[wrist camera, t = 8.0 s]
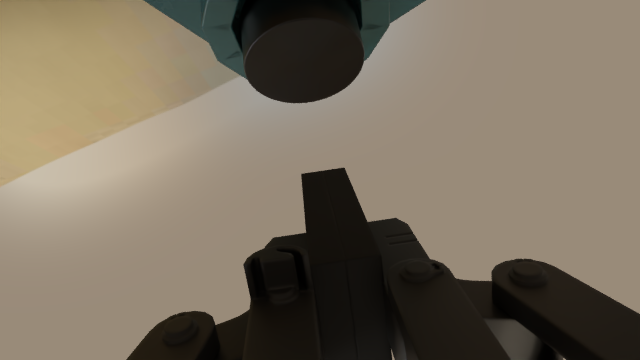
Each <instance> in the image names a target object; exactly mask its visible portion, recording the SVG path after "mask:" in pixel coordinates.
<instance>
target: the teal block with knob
mask: <svg viewBox="0 0 640 360" xmlns="http://www.w3.org/2000/svg"><path fill="white" fill-rule="evenodd" d="M144 1H145V2H147V3H148V4H150V5H151V6H153V7H155V8H156V9H158V10H159V11H161V12H162V13H164V14H165V15H167V16H168V17H170V18H171V19H173V20H175V21H176V22H178V23H179V24H181V25H182V26H184V27H185V28H187V29H188V30H190V31H191V32H193V33H194V34H196V35H198V36H199V37H201V38H202V39H204V40H205V41H207V42H208V43H209V44H210V46H211V48H212V50H213V52H214V54H215V56H216V58H217V60H218V61H219V62H220V63H222V64H223V65H225V66H226V67H228V68H230V69H231V70H233V71H234V72H236V73H238V74H239V75H241V76H242V77H244V78H246V79H247V77H246V75H245V72H244V63H243V51H242V39H241V26H240V15H241V10H242V7H243V5H244V3H245V1H246V0H144ZM424 1H426V0H352V2H353V6H354V10H355V14H356V18H357V22H358V26H359V30H360V34H361V38H362V42H363V46H364V52H365V56H364V61H365V60H366V59H367V58H368V57H369V56H370V54H371V53H372V51H373V50H374V48H375V47H376V45H377V44H378V42H379V41H380V39H381V38H382V36H383V35H384V33H385V32H386V30H387V29H388V27H389V24H390V23H391V22H393V21H394V20H396V19H398V18H399V17H401V16H402V15H404V14H405V13H407V12H409V11H410V10H411V9H413V8H415V7H416V6H418V5H419V4H421V3H422V2H424ZM247 80H248V79H247Z"/></svg>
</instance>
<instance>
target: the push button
mask: <svg viewBox="0 0 640 360" xmlns="http://www.w3.org/2000/svg"><path fill="white" fill-rule="evenodd" d="M240 26H241V39H242V51H243V63H244V72H245V75H246V77H247V79H248V81H249V83H250V84H251V85H252V86H253V87H254V88H255V89H256V90H257V91H258V92H260V93H261V94H263V95H264V96H266V97H268V98H271V99H274V100H277V101H281V102H287V103H307V102H314V101H317V100H322V99H325V98H328V97H330V96H332V95H335V94H336V93H338V92H340V91H342V90H343V89H345V88H346V87H347V86H348V85H350V84H351V83H352V82H353V80H354V79H355V78H356V77H357V75H358V74H359V72H360V71H361V68H362V66H363V63H364V56H365V52H364V46H363V42H362V38H361V34H360V30H359V26H358V22H357V18H356V14H355V10H354V6H353V2H352V0H246V1H245V3H244V5H243V7H242V10H241V15H240Z"/></svg>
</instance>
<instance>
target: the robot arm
mask: <svg viewBox="0 0 640 360" xmlns="http://www.w3.org/2000/svg"><path fill="white" fill-rule="evenodd" d="M301 176H302V188H303V200H304V212H305V224H306V233H302V234H295V235H289V236H282V237H275V238H273V239H272V240H271V241H270V242H269V243H268V244H267V245H266V246H265V248H264V249H262V250H259V251H257V252H255V253H253V254H252V255H251V256H250V257H248V258H247V259H246V261H245V263H244V269H245V274H246V279H247V283H248V288H249V293H250V297H251V303H250V309H249V310H248V311H247V312H245V313H243V314H242V315H240V316H238V317H236V318H233V319H231V320H228V321H226V322H223V323H220V324H217V325H215V322H214V320H213V317H212V316H211V315H209V314H207V313H206V312H198V311H191V312H183V313H179V314H177V315H176V314H175V315H173V316H170V317H169V318H167V319H165V320H164V321H162V322H160V323H159V324H157V325H156V326H155V327H154V328H153V329H152V330H151V331H149V333H148V334H147V335H146V336H145V338H144V339H143V340H142V341H141V342H140V344H139V345H138V346H137V347H136V349H135V350H134V351H133V352H132V353H131V355H130V356H129V357H128V358H127V360H392V354H391V349H392V352H393V355H394V358H395V360H563V358H565V359H566V360H640V314H639V313H637V312H635V311H633V310H631V309H630V308H628V307H626V306H624V305H622V304H621V303H619V302H617V301H615V300H614V299H612V298H610V297H608V296H606V295H605V294H603V293H601V292H599V291H597V290H596V289H594V288H592V287H590V286H589V285H587V284H585V283H583V282H581V281H579V280H578V279H576V278H574V277H572V276H570V275H569V274H567V273H565V272H563V271H562V270H560V269H558V268H556V267H554V266H552V265H549V264H547V263H544V262H540V261H535V260H532V259H515V260H510V261H505V262H503V263H500V264H498V265H496V266H495V267H494V269H493V270H492V281H469V280H460V279H456V278H455V277H454V276H453V274H452V273H451V271H450V270H449V268H447V267H446V266H445V265H444V264H443V263H440V262H438V261H435V260H431V259H429V257H428V255H427V254H426V252H425V251H424V249H423V248H422V246H421V244H420V243H419V241H417V238H416V237H415V235H414V234H413V232H412V230H411V229H410V227H409V226H408V224H407V223H405V222H403V221H401V220H398V219H397V218H392V219H385V220H379V221H372V222H367V220H366V218H365V215H364V213H363V211H362V208H361V206H360V203H359V202H358V199H357V196H356V194H355V192H354V189H353V187H352V185H351V182H350V180H349V178H348V175H347V173H346V170H345V168H338V169H332V170H325V171H318V172H311V173H305V174H302V175H301Z"/></svg>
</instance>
